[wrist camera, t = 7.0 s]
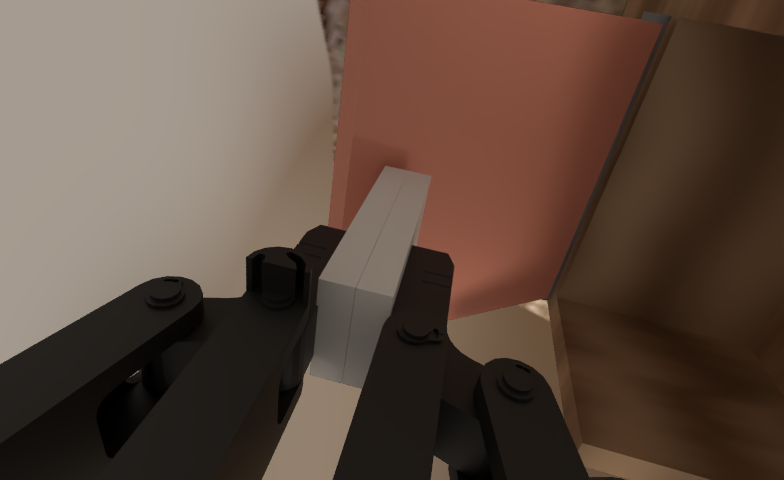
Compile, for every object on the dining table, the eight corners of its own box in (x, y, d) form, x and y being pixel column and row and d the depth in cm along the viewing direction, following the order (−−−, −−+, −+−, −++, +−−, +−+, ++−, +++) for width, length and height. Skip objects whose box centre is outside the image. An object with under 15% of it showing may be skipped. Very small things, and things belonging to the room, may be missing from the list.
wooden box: (854, 23, 23) (2084, 141, 5) (697, 275, 31) (961, 663, 13) (634, -16, 24) (1010, -32, 6) (538, 237, 32) (582, 547, 14)
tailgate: (679, 17, 17) (373, -42, 11) (556, 299, 24) (327, 353, 18) (641, 11, 18) (348, -46, 12) (535, 280, 25) (313, 325, 19)
